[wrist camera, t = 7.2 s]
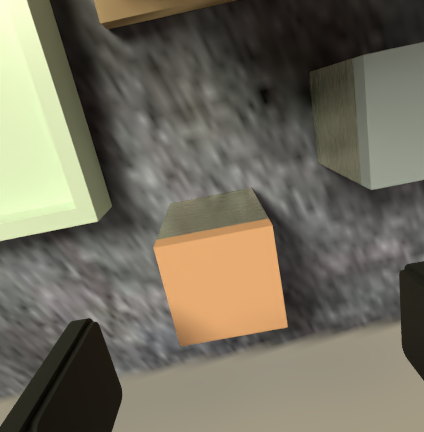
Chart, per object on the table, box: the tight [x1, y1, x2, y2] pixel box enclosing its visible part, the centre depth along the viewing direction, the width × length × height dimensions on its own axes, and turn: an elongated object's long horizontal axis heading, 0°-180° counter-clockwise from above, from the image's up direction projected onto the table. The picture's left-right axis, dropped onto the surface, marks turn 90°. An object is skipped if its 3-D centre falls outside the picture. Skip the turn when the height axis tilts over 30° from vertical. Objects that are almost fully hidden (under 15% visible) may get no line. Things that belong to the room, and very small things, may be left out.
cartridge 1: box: [154, 188, 288, 346], centre depth 16 cm, size 4×4×6 cm
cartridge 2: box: [309, 42, 424, 190], centre depth 14 cm, size 4×4×6 cm
